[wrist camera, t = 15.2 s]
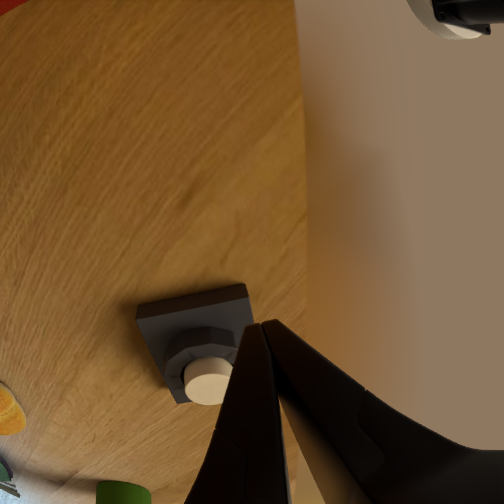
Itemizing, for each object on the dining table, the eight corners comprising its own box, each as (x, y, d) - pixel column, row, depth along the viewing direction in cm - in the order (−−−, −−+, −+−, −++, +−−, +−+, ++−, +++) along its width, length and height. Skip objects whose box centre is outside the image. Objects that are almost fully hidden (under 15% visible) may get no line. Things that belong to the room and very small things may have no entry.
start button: (228, 351, 22) (231, 369, 20) (237, 382, 23) (240, 400, 22) (178, 360, 21) (178, 379, 20) (191, 391, 23) (192, 408, 22)
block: (245, 283, 23) (254, 313, 20) (262, 373, 28) (270, 403, 25) (137, 305, 22) (132, 337, 19) (176, 389, 27) (177, 420, 24)
